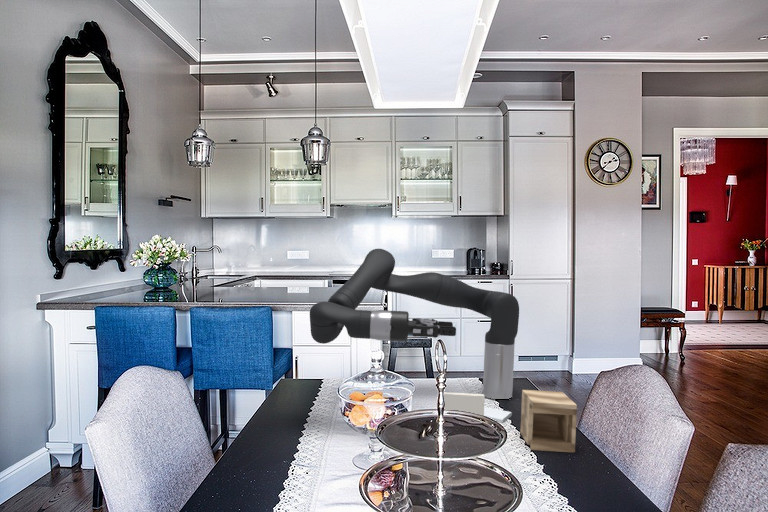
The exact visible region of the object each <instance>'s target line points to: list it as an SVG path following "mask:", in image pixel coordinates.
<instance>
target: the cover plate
mask: <svg viewBox="0 0 768 512" xmlns="http://www.w3.org/2000/svg"><path fill="white" fill-rule="evenodd" d="M443 392H444V391H443ZM485 399H486V397H485V396H484V394H483V393H466V392H464V393H463V392H462V393H461V392H449V391H448V392H444V400H445V410H459V411H466V412H471V413H475V414H480V415H484V407H485Z"/></svg>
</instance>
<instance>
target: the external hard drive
mask: <svg viewBox="0 0 768 512" xmlns="http://www.w3.org/2000/svg"><path fill="white" fill-rule="evenodd" d="M484 415H485V416H487V417H490V418H492V419H494V420H496V421H497V422H496V423H499V424H504V423H505V422H506V421H507V420H509V419H510V418H511V417H512V416H513V412H511V411H509V410H503V409H499V408H498V409H497V408H493V407H492V408H491V407H487V406H484Z"/></svg>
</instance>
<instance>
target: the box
mask: <svg viewBox="0 0 768 512" xmlns="http://www.w3.org/2000/svg"><path fill="white" fill-rule="evenodd" d="M577 409H578V405H577V403H575V402H574V401H573V400H572V399H571V398H570V397H569V396H567V395H566V394H565V393H564V392H563V391H554V390H553V391H552V390H537V389H536V390H535V389H534V390H533V389H521V409H520V427H519V428H520V431H519V432H520V435H521V436H522V438H523V440H524V441H525V443H526V445H529V446H530V447H529V449H530V451H542V452H543V451H544V452H557V453H558V452H560V453H561V452H562V453H576V437H577V436H576V434H577V433H576V432H577V431H576V430H577V411H578V410H577Z"/></svg>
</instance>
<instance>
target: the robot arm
mask: <svg viewBox="0 0 768 512" xmlns="http://www.w3.org/2000/svg"><path fill="white" fill-rule="evenodd" d="M395 267H396V260H395V256H394V255H393V254H392V252H390V251H388V250H386V249H384V248H383V249H382V248H374V249H372V250H370V251H369V252H368V253H367V254H366V256H365V258H364V260H363V262H362V263H361V264H360V266H359V267H358V268H357V270H356V271H354V273H353V274H352V276H351V277H350V278H348V280H346V281H345V283H343V284H342V286H340V287H339V288H338V289H337V290H335V292H334V293H333V294H332V295H331V296H330V297H329V299H328V300H327V301H319V302H316V303H315V304H313V305H312V306H311V308H310V310H309V324H310V325H309V326H310V334H311V338H312V340H314V342H316V343H318V344H329V343H331V342H333V341H335V339H337V338H338V337H339V335H340V334H341V332H342V331H343V330H344V327H345V329H346V332H347V335H348V337H350V338H353V339H364V340H365V339H366V340H368V339H369V340H376V341H387V342H404V343H405V342H407V341H408V339H409V338H408V337H409V336H408V335H409V334H412V336H413V337H422V338H423V337H425V338H434V339H436V338H438V337H440V336H441V337H442V336H443V337H444V336H447V337H455V336H456V335H457V328H456V327H455V326H454V325H453V324H454V323H453V322H452V321H442V320H441V321H439V320H437V319H434V318H418V317H416V318H412V320H410V318H409V315H410V314H409V311H406V310H403V311H402V310H385V309H382V310H381V309H380V310H379V309H377V310H361V309H357V308H358V307H359V305H360V304H361V303H362V301H364V299H365V297H366V296H367V294H368V293H369V291H370V290H371V289H375V290H379V291H385V292H389V293H390V292H391V293H395V294H401V295H404V296H405V295H406V296H410V297H412V298H413V297H414V298H416V299H417V298H418V299H421V300H424V301H428V302H430V303H434V304H438V305H440V306H445V307H451V308H459V309H465V310H466V309H467V310H470V311H472V312H476V313H478V314H480V315H483V316H485V317H487V318H489V319H490V326H489V330H488V331H487V332H485V334H484V358H483V359H484V360H483V362H484V363H483V375H482V376H483V380H482V394H484V396H485V398H487V399H490V398H491V399H490V400H495V399H509V398H511V397H512V398H513V389H514V387H513V385H514V367H515V366H514V363H515V361H514V360H515V344H516V343H515V340H516V337H517V335H518V330H519V322H520V320H519V319H520V304H519V301H518V299H517V298H516V296H514V295H513V294H511V293H508V292H502V291H494V290H489V289H488V290H487V289H483V288H479V287H475V286H472V285H469V284H467V283H465V282H463V281H461V280H459V279H457V278H455V277H452V276H448V275H445V274H442V273H439V272H436V271H435V272H432V271H429V272H427V271H426V272H422V273H416V274H412V275H411V274H410V275H400V274H399V275H398V274H396V273H395V274H393V272H394V269H395ZM509 400H510V399H509Z"/></svg>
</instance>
